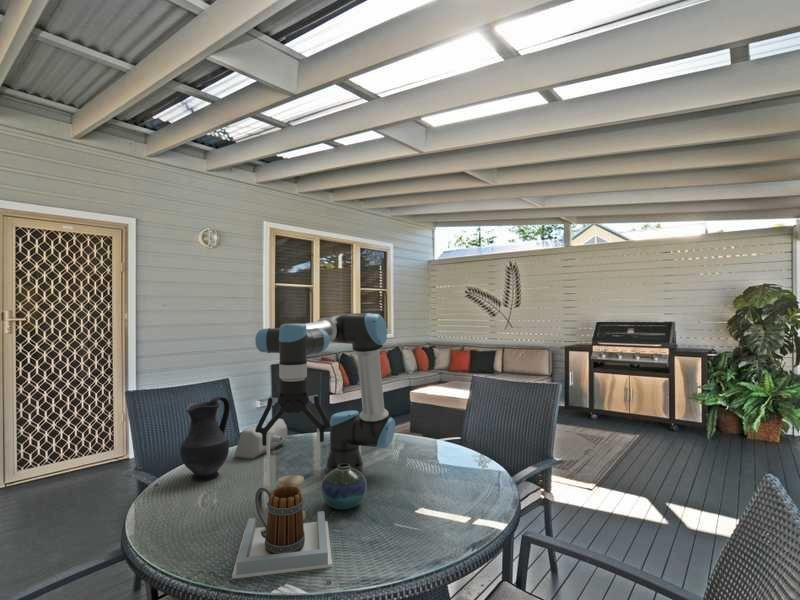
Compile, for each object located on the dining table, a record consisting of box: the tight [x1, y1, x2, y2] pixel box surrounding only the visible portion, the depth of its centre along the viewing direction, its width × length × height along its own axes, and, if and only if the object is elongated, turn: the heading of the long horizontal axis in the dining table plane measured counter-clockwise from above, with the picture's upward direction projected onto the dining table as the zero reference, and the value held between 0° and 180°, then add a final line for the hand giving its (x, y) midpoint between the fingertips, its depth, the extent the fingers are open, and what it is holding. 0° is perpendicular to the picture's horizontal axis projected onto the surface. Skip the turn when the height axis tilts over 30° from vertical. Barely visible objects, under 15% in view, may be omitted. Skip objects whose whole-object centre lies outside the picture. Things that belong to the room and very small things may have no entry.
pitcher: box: [180, 395, 231, 482], centre depth 180 cm, size 17×21×30 cm
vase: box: [320, 463, 368, 511], centre depth 152 cm, size 15×15×13 cm
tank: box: [233, 418, 288, 460], centre depth 211 cm, size 25×16×12 cm, turn 161°
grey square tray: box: [231, 510, 333, 580], centre depth 125 cm, size 24×24×4 cm
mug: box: [254, 485, 305, 554], centre depth 124 cm, size 16×11×15 cm
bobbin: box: [277, 474, 307, 522], centre depth 142 cm, size 9×9×12 cm
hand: (293, 455), depth 127 cm, fingers open, 13 cm apart
